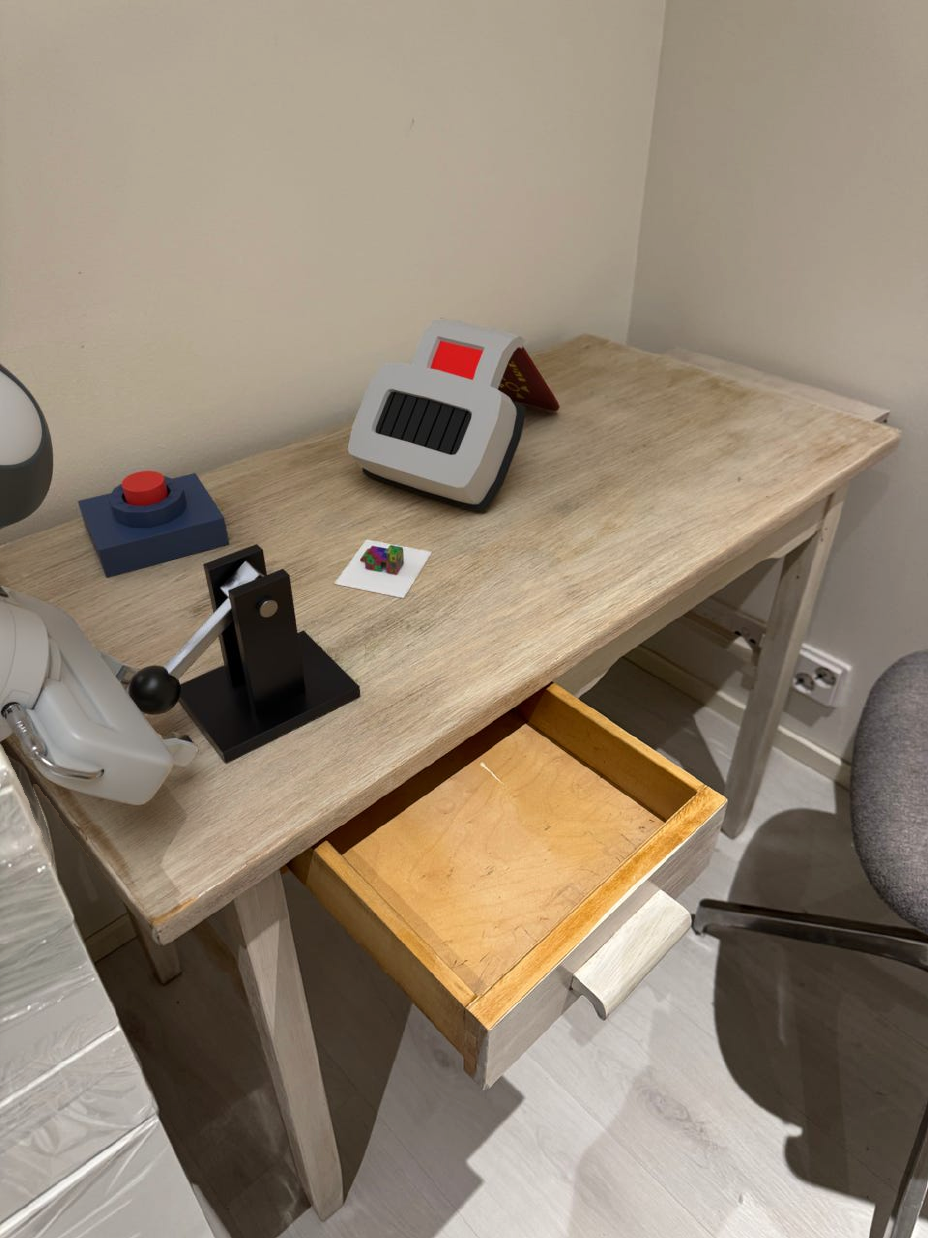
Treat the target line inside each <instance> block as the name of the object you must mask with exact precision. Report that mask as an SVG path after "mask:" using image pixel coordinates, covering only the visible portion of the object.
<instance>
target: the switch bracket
mask: <svg viewBox="0 0 928 1238" xmlns="http://www.w3.org/2000/svg"><path fill="white" fill-rule="evenodd" d="M245 561H247V562H249V563H250V564H251V565H252V566H253V567H255V568H256V569H257V570H258V571H259V572H261V573H262V574H263V575H264V576H263V577H260V578H258V579H255V580H253V581H250V582H248V583H245V584H243V585H240V586H238V587H235V588H233V589H230V590H228V594H229V599H230V604H231V609H232V614H233V619H234V620H233V621H232V622H231V623H230V625H229V626H228V627H227V628H226V629H225V630H224V631H223V632H222V633H221V634H220V635H219V636H218V637H217V638H218V642H219V646H220V651H221V655H222V656H221V657H222V660H223V665H220V666H219V667H217V668H214V669H211V670H210V671H207V672H205V673H203V674H200V675H198V676H195V677H194V678H191V679H188V680H186V681H185V682H182V683H180V686H181V694H180V697H179V700H178V702H179V704H180V705H181V707H182V708H183V709H184V711H185V712H186V714H188V717H190V719H191V720H192V721H193V722H194V724H195V725H196V726H197V728H198V729H199V731H200V732H201V733H202V735H203V736H204V737H205V738H206V740H207V741H208V743H209V744H210V745H211V747H212V748H213V749H214V750H215V752H216V753H217V755H218V756H219V757H220V758H221V759H222V761H223V763H224V764H228V763H230V762H232V761H234V760H236V759H238V758H240V757H242V756H244V755H246V754H248V753H250V752H252V751H254V750H256V749H258V748H260V747H263V746H264V745H266V744H268V743H271V742H272V741H274V740H276V739H279V738H280V737H283V736H284V735H286V734H288V733H291V732H292V731H294V730H297V729H298V728H300V727H302V726H305V725H306V724H308V723H310V722H312V721H315V720H316V719H319V718H320V717H322V716H324V715H327V714H328V713H331V712H332V711H335V710H336V709H339V708H340V707H342V706H345V705H347V704H349V703H351V702H353V701H354V700H357V699H359V698H360V697H361V687H360V685H359V684H358V683H357V682H356V681H355V680H354V679H353V678H352V677H351V676H350V675H349V674H348V673H347V672H346V671H345V670H344V669H343V668H342V666H340V665H339V664H338V663H337V661H335V659H333V658H332V657H331V656H330V655H329V654H328V653H327V651H325V650H324V649H323V648H322V647H321V646H320V645H319V644H318V643H317V641H315V640H314V639H313V638H312V637H311V636H310V635H309V634H308V633H307V632H306V631H305V629H304V630H301V631H298V625H297V619H296V612H295V604H294V596H293V590H292V583H291V576H290V573H289V572H288V571H286V570H285V569H284V568H281V569H279V570H276V571H273V572H271V573H269V574H268V572H267V567H266V566H267V565H266V561H265V554H264V549H263V548H262V547H261V546H260V545H259V544H257V543H256V544H253V545H251V546H248V547H244V548H242V549H240V550H237V551H234V552H232V553H229V554H226V555H224V556H220V557H218V558H215V559H212V560H210V561H207V562H205V563H203V571H204V575H205V581H206V585H207V589H208V594H209V599H210V604H211V608H212V609H211V610H212V614H213V613H214V612H215V611H216V610H217V609H218V608H219V607H220V606H221V605H222V604H223V603H224V602H225V600H226V599H227V598H228V597H227V596H226V594H225V593H224V592H223V591H222V590H221V589H220V587H221V586H222V585H223V584H224V583H225V582H226V581H227V580H228V579H229V578H230V577H231V576H232V575H233V574H234V573H235V571H236V570H237V569H238V568H239V567H240V566H241V565H242V564H243V563H244V562H245Z"/></svg>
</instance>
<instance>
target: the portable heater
mask: <svg viewBox="0 0 928 1238" xmlns="http://www.w3.org/2000/svg"><path fill="white" fill-rule="evenodd" d="M525 342H526V341H525V339H524V338H523V337H522V336H521V335H520V334H516V333H512V332H509V331H506V330H502V329H498V328H494V327H489V326H484V325H480V324H475V323H471V322H466V321H462V320H458V319H451V318H444V317H440V318H439V319H436V320H434V321H432V322H431V324H429V326H428V327H427V328H426V329H425V330H424V331H423V332H422V334H421V337H420V339H419V341H418V344H417V346H416V349H415V352H414V354H413V358H412V360H411V363H406V362H401V361H385V362H383V363H382V364H381V365H380V366H379V367H378V369H377V370H376V372H375V374H374V376H373V377H372V379H371V380H370V382H369V384H368V386H367V388H366V391H365V393H364V395H363V399H362V401H361V403H360V406H359V409H358V411H357V413H356V416H355V418H354V421H353V423H352V426H351V430H350V435H349V440H348V445H347V452H348V453H349V455H350V456H351V457H352V459H353V460H354V461H355V463H356V464H357V465H358V466H360V467H361V468H362V474H364V475H365V476H366V477H368V478H370V479H373V480H375V481H377V482H380V483H382V484H385V485H389V486H392V487H394V488H397V489H401V490H404V491H407V492H409V493H412V494H414V495H415V494H416V495H418V496H422V497H425V498H429V499H432V500H435V501H438V502H442V503H445V504H448V505H452V506H455V507H458V508H461V509H465V510H470V511H475V512H486V511H487V510H488V509H489V508H490V507H491V505H492V503H493V502H494V500H495V499H496V497H497V495H498V494H499V492H500V491H501V488H502V487H503V484H504V483H505V480H506V478H507V475H508V472H509V470H510V467H511V465H512V462H513V459H514V457H515V454H516V452H517V450H518V447H519V444H520V441H521V439H522V434H523V429H524V424H525V418H526V407H525V406H524V405H526V406H530V407H534V408H538V409H542V410H545V411H549V412H558V411H559V410H560V408H561V406H560V405H559V404H560V403H559V402H558V400H557V398H556V396H555V395H554V393H553V391H552V389H551V388H550V387H549V385H548V383H547V382H546V381H545V379H544V377H543V375H542V374H541V372H540V371H539V369H538V367H537V366H536V364H535V363H534V361H533V360H532V358H531V357H530V355H529V354H528V352H527V350H526V348H525V347H524V344H525Z"/></svg>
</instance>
